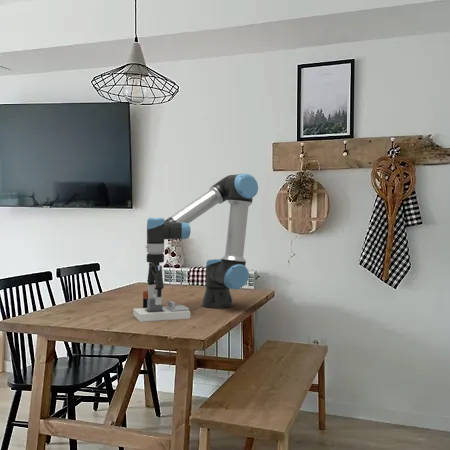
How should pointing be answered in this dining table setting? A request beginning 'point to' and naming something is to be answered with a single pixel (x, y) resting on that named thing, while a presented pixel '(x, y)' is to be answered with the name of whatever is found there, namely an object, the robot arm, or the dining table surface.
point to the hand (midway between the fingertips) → (154, 302)
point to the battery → (145, 299)
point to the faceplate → (160, 314)
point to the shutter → (175, 306)
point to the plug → (153, 305)
